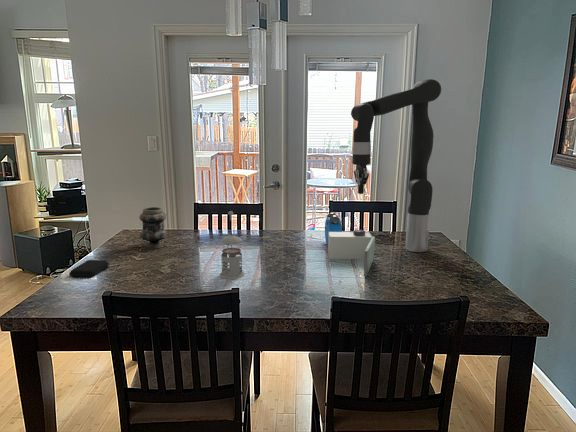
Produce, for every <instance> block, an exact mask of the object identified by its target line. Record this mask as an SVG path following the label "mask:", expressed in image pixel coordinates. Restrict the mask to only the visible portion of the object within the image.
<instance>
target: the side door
mask: <svg viewBox="0 0 576 432" xmlns="http://www.w3.org/2000/svg"><path fill="white" fill-rule="evenodd" d="M371 236H372V238H371V240H370V242H369V244H368V246H367V248H366V250H365V257H364V261H363V263H364V264H363V277H367V276H368V274H369V271H370V269H371V266H372V264H373V261H374V260H375V242H376V241H375V240H376V237H375V236H373V235H371Z"/></svg>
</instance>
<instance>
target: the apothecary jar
mask: <svg viewBox="0 0 576 432" xmlns="http://www.w3.org/2000/svg"><path fill="white" fill-rule="evenodd" d="M165 219H167V215H166V213H165V212H164V210H163V208H162V207H158V206H149V207H144V208H142V213H141V214H140V215H139V220H140V221H141V222H142V231H141V232H140V234H139V235H140V237H139V238H141V240H144V241H147V243H145V244H143V248H144V249H150V250H153V249H154V250H155V249H160V248H163V247H165V246H166V243H165V242H164V241H163V242H162V240H165V238H166V237H167V235H168V232H167V230H166V229H165Z"/></svg>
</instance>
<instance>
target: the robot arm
mask: <svg viewBox="0 0 576 432" xmlns="http://www.w3.org/2000/svg"><path fill="white" fill-rule="evenodd" d="M441 93H442V86H441V84H440V82H439V81H438V80H436V79H433V78H430V79H422V80H419V81H416V83H414V85H413V87H412V88H410V89H407V90H403V91H399V92H395V93H389V94H387V95H384V96H381V97H378V98H375V99H373V100H369V101H365V102H364V101H363V102H361V103H359V104H356V105H354V106H353V107H352V109H351V112H350V116H351V118H352V119H353V120H354V121H356V122H357V125H356V126H357V127H355V128H354V129H353V139H352V140H353V141H352V142H353V143H352V159H351V160H352V161H351V162H352V164H353V166H355V170H353V175H354V178H355V184H357V194H359V195H364V193H365V185H367V182H368V180H369V177H370V174H369V173H368V169H367V168H368V167H367V165H368V166H369V165H371V159H372V158H371V155H372V153H371V152H372V150H371V149H372V146H371V130H372V128H373V124H374V123H373V122H374V119H375V118H374V117H377V116H383V115H386V114H389V113H391V112H395V111H397V110H400V109H403V108H405V107H408V106H412V122H411V124H412V125H411V126H412V127H411V138H410V139H411V140H410V141H411V142H410V173H409V180H408V186H407V188H408V193H409V194H410V202H409V205H408V207H407V219H406V232H405V233H406V235H405V247H404V248H405V250H406V251H409V252H412V253H423V252H428V246H429V235H430V233H429V232H430V231H429V230H428V228H429V218H430V209H431V207H432V202H433V201H432V200H433V190H434V189H433V185H432V183H431V182H430V181H429V180H428V166H429V165H428V164H429V161H430V159H431V155H432V152H433V148H434V129H433V125H432V123H431V121H430V120H431V119H430V118H429V103H430V102H433V101H436V99H438V98H439V97H440V95H441Z"/></svg>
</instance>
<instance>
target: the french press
mask: <svg viewBox="0 0 576 432" xmlns="http://www.w3.org/2000/svg"><path fill="white" fill-rule="evenodd" d="M227 215H229V217H230V220H232V216H233V215H234V212H233V210H230V211H228V212H227ZM242 242H243V239H242V238H240V237H239V236H236V235H232V233H230V235H228V236H225V237H222V238H221V239H220V243H222V244H223V245H226V246H227V247H226V248H225V247H224V248H223V249H222V250H221V252H222V253H221V255H220V258H221V272H220V273H219V275H220V276H219V277H220V278H221V277H222V279H224V278H225V280H236V279H237V280H238V279H241V278H242V277H245V275H246V274H245V272H244V270H243V254H242V252H241V251H242V250H241V249H240V248H238V247H233V245H237V244H238V245H239V244H240V243H242ZM229 246H230V247H229Z"/></svg>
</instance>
